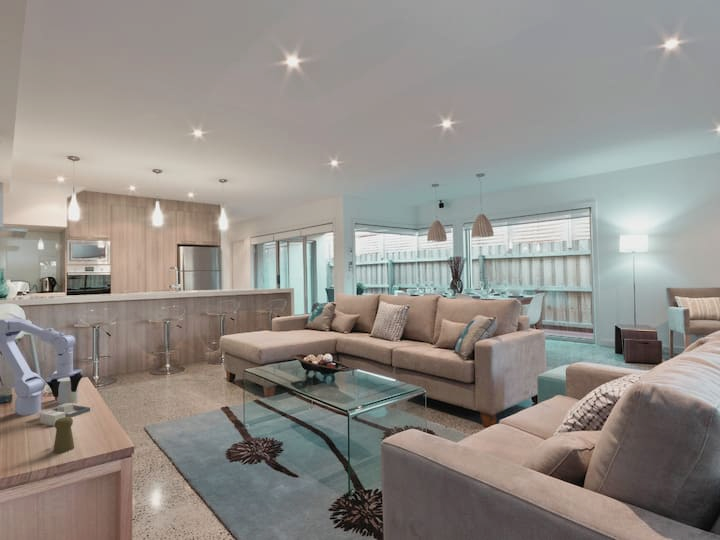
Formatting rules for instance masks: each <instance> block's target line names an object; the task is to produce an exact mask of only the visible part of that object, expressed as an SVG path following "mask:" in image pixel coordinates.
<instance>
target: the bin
mask: <svg viewBox="0 0 720 540" xmlns="http://www.w3.org/2000/svg"><path fill="white" fill-rule="evenodd" d="M51 410H53V411H57V407H56V408H53V409H51ZM73 410H77V411H73V412H70V413H65V417H71V418H73V417H76V416H79V415H82V414H86V413H88V412H91V408H90V406H84V405H83V406H82V405H75V404H73Z"/></svg>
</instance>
